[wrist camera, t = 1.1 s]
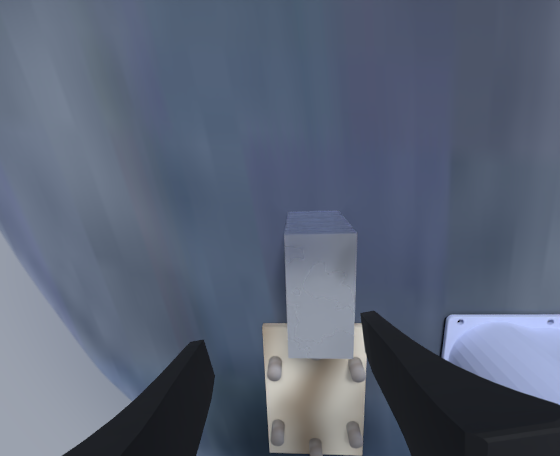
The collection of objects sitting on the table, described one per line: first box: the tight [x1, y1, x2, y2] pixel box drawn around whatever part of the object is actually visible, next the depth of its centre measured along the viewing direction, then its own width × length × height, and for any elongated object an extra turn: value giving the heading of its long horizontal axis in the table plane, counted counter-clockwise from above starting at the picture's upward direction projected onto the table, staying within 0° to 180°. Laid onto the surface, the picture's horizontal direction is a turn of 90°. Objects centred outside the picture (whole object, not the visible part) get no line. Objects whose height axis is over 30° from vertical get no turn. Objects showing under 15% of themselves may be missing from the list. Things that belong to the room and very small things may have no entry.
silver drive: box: [284, 211, 357, 359], centre depth 20 cm, size 4×8×7 cm, turn 2°
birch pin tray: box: [262, 323, 367, 456], centre depth 25 cm, size 9×14×2 cm, turn 2°
